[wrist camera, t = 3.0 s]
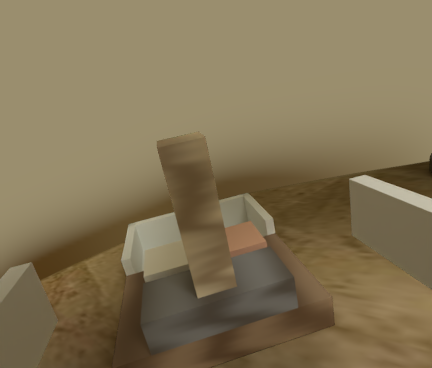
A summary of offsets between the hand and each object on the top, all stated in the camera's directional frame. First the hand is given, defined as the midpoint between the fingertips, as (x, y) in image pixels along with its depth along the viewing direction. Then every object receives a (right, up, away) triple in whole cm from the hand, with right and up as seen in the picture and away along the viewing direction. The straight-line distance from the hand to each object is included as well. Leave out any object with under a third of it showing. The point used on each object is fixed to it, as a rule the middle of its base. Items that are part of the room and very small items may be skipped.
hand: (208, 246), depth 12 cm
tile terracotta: (+3, -6, +19) cm, 20 cm away
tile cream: (-4, -7, +18) cm, 20 cm away
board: (+1, -10, +17) cm, 20 cm away
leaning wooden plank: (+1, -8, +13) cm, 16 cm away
